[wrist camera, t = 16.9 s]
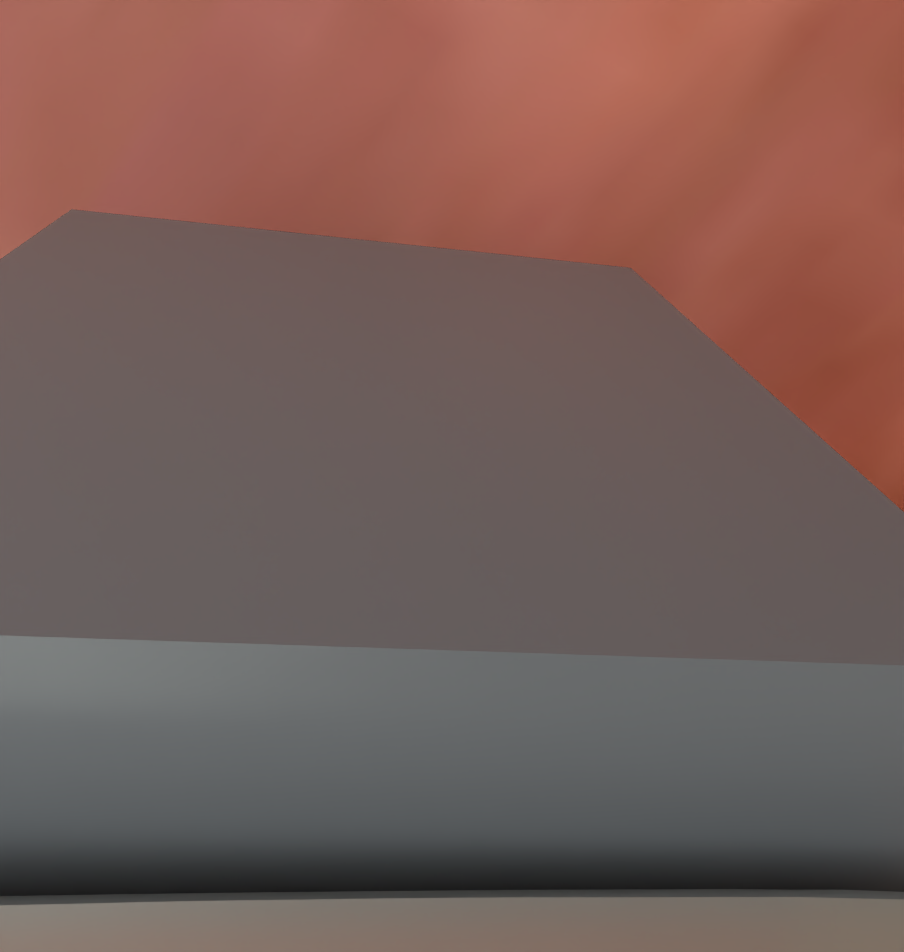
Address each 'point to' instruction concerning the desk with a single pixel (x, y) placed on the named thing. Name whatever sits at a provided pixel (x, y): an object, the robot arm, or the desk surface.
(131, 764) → the matte gray cube
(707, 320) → the desk surface
